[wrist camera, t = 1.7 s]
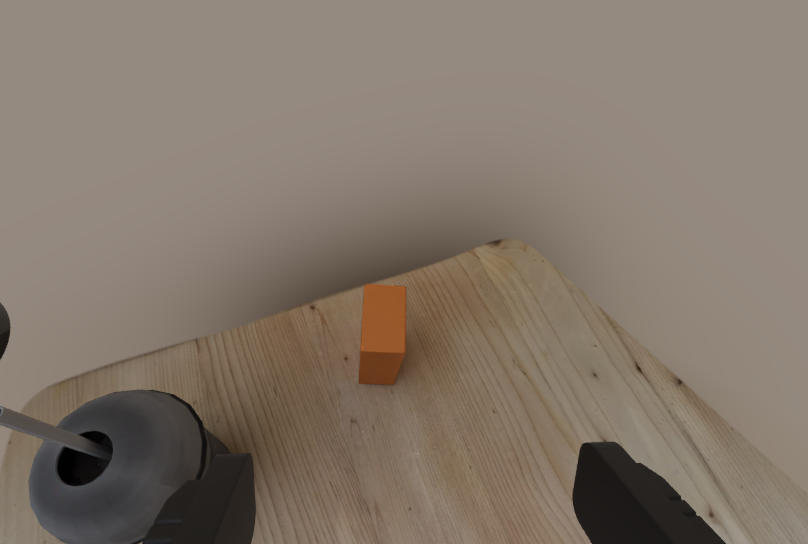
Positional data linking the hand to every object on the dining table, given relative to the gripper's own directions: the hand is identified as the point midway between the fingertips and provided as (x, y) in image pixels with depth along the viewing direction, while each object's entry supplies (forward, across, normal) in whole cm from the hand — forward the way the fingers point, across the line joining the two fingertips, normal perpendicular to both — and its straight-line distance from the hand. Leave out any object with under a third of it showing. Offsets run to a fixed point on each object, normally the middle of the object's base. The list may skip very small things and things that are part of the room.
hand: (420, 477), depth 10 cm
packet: (+25, 0, +9) cm, 27 cm away
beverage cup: (+19, +13, +16) cm, 28 cm away
